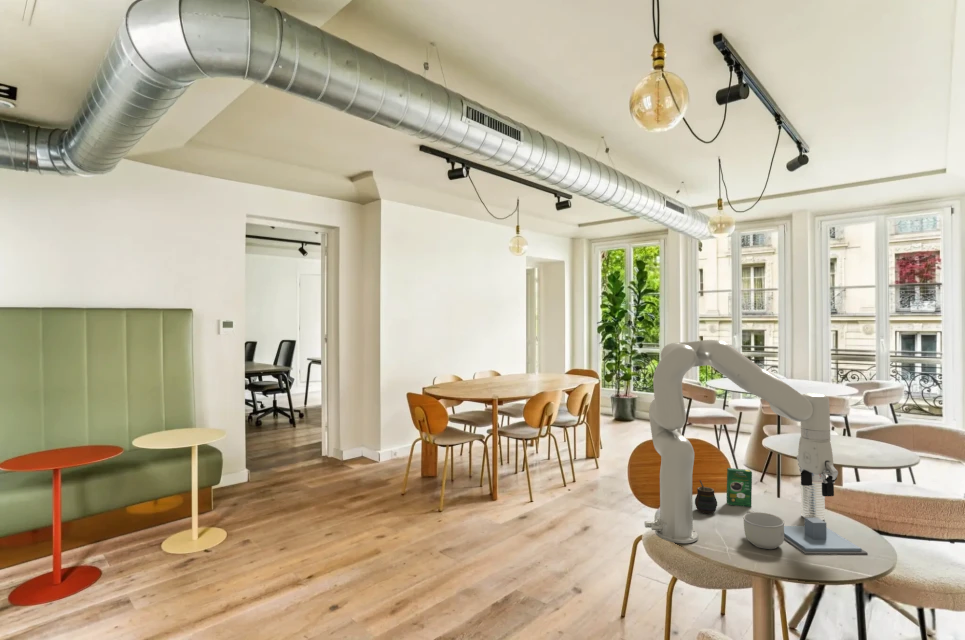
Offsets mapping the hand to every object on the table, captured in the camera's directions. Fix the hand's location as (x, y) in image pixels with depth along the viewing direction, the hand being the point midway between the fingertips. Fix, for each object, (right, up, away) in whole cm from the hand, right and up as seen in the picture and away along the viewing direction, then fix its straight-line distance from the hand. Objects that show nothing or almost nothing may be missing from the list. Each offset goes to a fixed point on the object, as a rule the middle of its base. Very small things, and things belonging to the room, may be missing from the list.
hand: (816, 490), depth 153 cm
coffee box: (-8, -16, +30) cm, 35 cm away
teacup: (-17, -16, -1) cm, 23 cm away
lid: (0, -15, 0) cm, 15 cm away
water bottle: (+11, -16, +18) cm, 26 cm away
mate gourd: (-23, -16, +24) cm, 37 cm away
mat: (0, -15, 0) cm, 15 cm away
